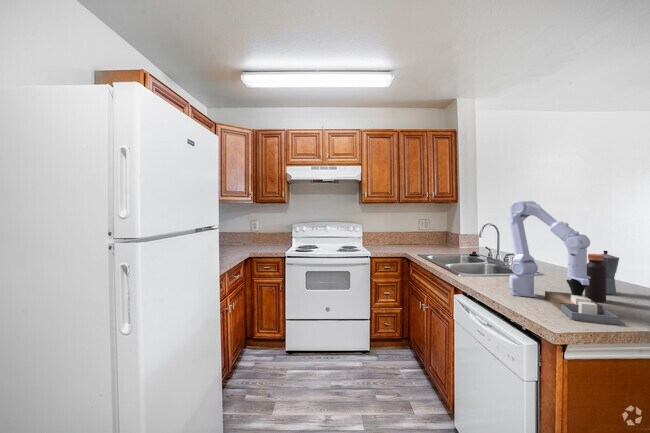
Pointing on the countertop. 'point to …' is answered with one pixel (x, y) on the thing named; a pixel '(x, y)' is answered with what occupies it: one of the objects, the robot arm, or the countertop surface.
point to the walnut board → (562, 299)
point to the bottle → (596, 278)
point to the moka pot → (610, 272)
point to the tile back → (579, 299)
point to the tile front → (587, 308)
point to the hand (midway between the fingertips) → (576, 298)
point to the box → (590, 315)
